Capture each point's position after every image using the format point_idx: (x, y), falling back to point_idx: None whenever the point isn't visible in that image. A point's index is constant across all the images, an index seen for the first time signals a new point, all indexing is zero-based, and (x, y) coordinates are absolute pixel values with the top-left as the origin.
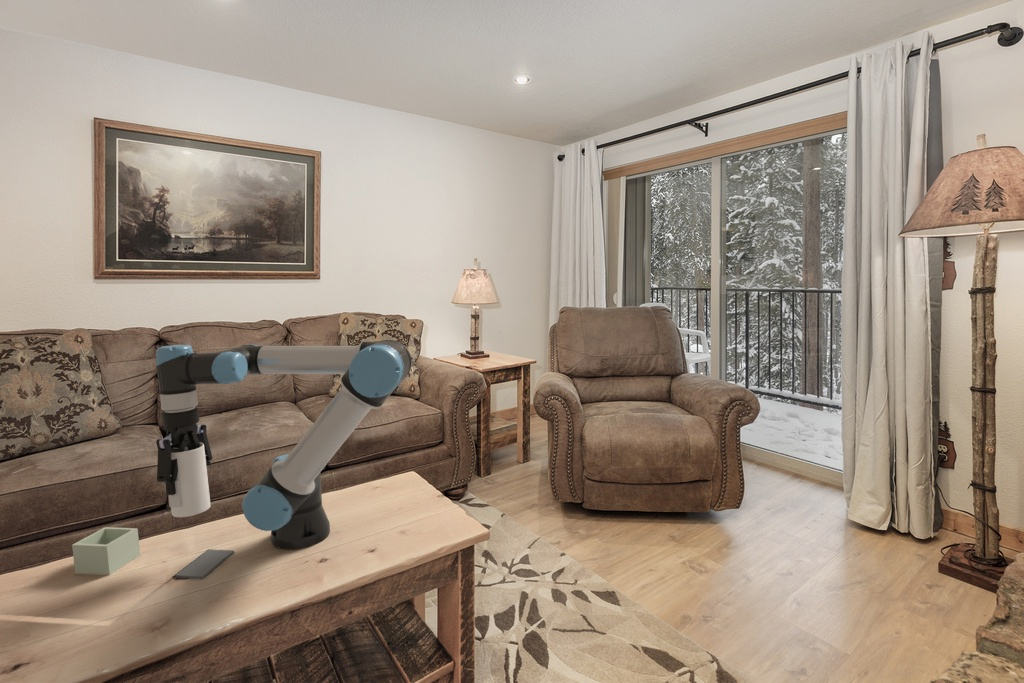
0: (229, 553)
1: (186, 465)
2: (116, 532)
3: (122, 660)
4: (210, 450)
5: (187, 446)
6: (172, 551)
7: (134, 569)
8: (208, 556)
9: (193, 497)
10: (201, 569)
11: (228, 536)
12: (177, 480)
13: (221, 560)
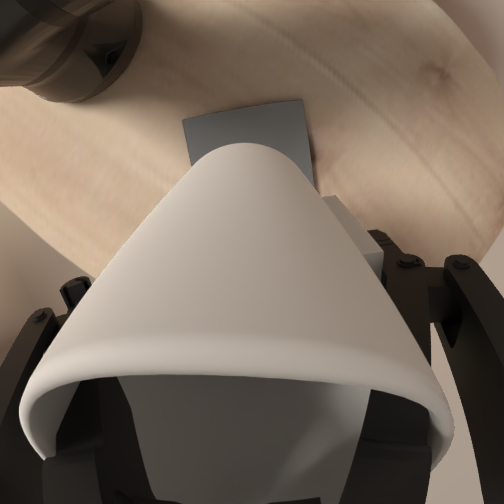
0: (197, 119)
1: (369, 267)
2: None
3: (493, 77)
4: (9, 352)
5: (148, 489)
6: None
7: None
8: None
9: (292, 168)
10: (277, 125)
11: (127, 200)
12: (375, 256)
13: (230, 110)
